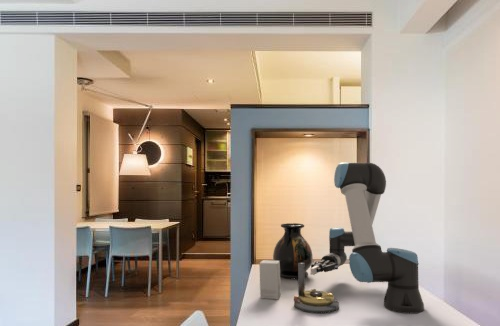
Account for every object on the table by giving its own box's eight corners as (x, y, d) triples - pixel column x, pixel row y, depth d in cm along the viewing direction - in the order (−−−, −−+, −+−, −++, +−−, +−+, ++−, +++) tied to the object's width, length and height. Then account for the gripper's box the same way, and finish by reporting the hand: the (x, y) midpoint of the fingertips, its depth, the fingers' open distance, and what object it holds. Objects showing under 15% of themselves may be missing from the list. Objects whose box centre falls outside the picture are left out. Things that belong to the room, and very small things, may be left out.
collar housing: (348, 308, 150) (348, 295, 150) (314, 316, 140) (314, 302, 141) (317, 296, 165) (317, 284, 166) (284, 303, 156) (284, 290, 156)
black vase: (304, 283, 188) (303, 227, 189) (266, 278, 198) (266, 225, 200) (318, 274, 206) (318, 223, 208) (283, 270, 217) (283, 221, 218)
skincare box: (280, 295, 167) (280, 260, 168) (278, 300, 161) (277, 263, 162) (262, 294, 169) (262, 259, 170) (259, 298, 163) (259, 262, 164)
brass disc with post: (329, 295, 160) (329, 259, 161) (337, 305, 146) (336, 267, 147) (296, 295, 160) (295, 259, 161) (301, 305, 146) (300, 267, 147)
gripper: (343, 271, 180) (326, 282, 160) (318, 268, 187) (298, 278, 167) (343, 255, 180) (326, 264, 160) (317, 253, 187) (298, 261, 167)
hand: (312, 271), depth 163 cm, fingers closed
